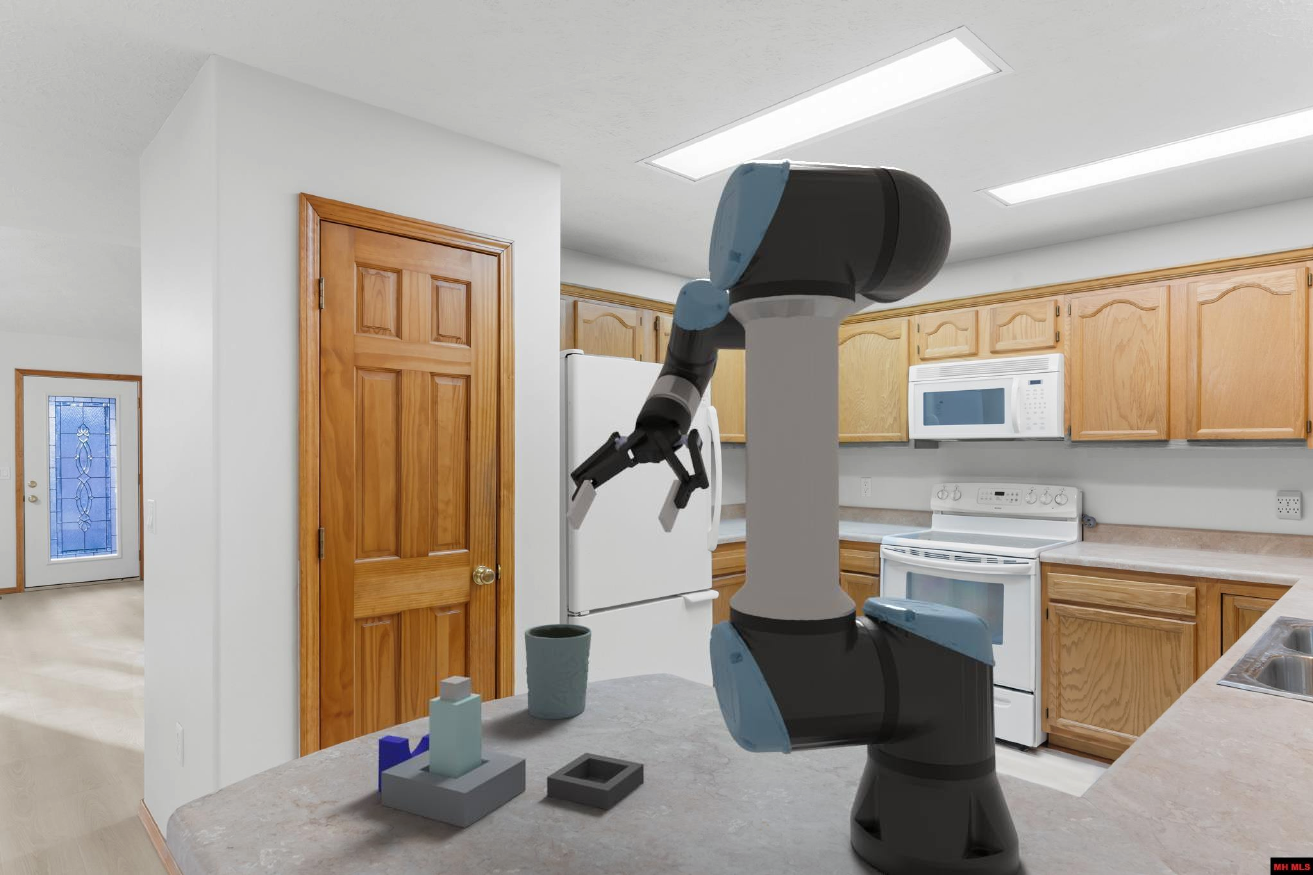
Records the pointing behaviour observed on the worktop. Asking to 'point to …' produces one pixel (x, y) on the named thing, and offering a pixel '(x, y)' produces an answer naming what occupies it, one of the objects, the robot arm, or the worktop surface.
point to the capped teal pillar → (455, 729)
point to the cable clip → (397, 752)
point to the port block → (453, 788)
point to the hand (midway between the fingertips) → (616, 524)
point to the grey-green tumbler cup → (557, 669)
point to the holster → (574, 788)
